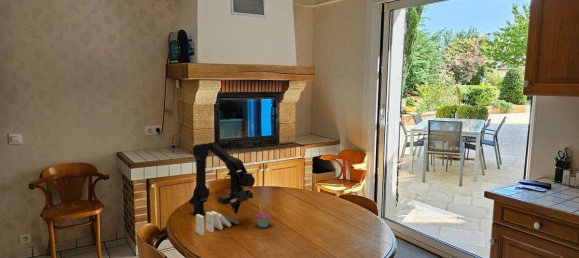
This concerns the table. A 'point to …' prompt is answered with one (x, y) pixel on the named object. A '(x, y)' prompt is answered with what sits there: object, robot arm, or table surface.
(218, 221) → the domino
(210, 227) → the domino
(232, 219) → the grey domino block
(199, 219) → the domino
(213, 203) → the table surface
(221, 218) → the domino
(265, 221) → the cupcake
